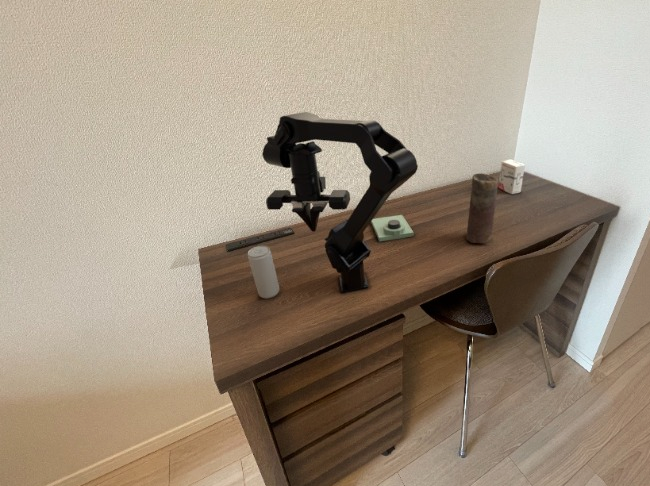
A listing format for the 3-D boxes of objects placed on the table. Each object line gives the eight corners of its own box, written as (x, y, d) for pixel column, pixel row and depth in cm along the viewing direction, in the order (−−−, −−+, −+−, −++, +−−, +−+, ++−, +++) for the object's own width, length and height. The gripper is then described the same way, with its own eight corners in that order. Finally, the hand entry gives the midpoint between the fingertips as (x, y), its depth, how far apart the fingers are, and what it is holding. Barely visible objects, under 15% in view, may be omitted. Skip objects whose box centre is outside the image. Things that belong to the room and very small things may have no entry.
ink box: (497, 187, 135) (500, 160, 130) (506, 185, 137) (510, 158, 132) (511, 194, 128) (516, 166, 123) (521, 192, 130) (525, 164, 125)
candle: (473, 230, 103) (479, 170, 93) (495, 237, 98) (503, 175, 89) (461, 240, 97) (467, 177, 88) (484, 248, 93) (491, 183, 84)
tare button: (401, 229, 99) (401, 224, 98) (389, 230, 98) (389, 225, 97) (398, 223, 102) (397, 218, 101) (387, 225, 101) (386, 220, 100)
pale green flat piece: (413, 236, 100) (413, 228, 98) (379, 242, 97) (379, 233, 96) (402, 218, 111) (402, 210, 110) (371, 222, 109) (370, 214, 107)
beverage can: (273, 300, 74) (262, 258, 69) (254, 298, 75) (242, 255, 70) (283, 287, 79) (274, 246, 73) (266, 285, 79) (255, 244, 74)
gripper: (351, 160, 80) (356, 216, 87) (277, 160, 80) (288, 216, 87) (342, 175, 70) (349, 237, 77) (258, 175, 70) (272, 236, 78)
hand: (314, 230), depth 80 cm, fingers closed
